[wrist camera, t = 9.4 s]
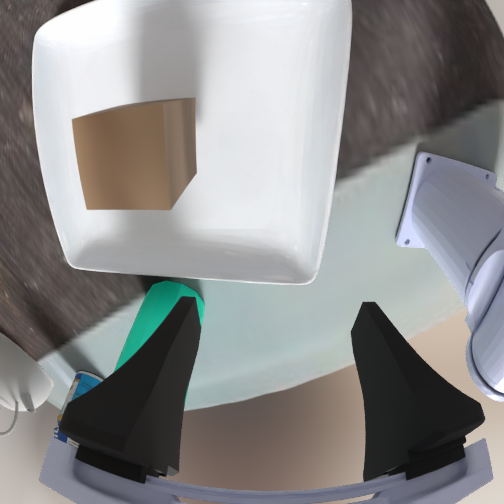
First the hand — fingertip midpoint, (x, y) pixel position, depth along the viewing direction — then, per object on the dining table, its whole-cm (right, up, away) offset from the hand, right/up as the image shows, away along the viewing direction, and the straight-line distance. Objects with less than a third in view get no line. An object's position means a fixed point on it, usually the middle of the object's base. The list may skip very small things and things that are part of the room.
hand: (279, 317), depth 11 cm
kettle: (-58, -24, +32) cm, 70 cm away
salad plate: (-6, +11, +6) cm, 14 cm away
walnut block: (-7, +9, +3) cm, 12 cm away
